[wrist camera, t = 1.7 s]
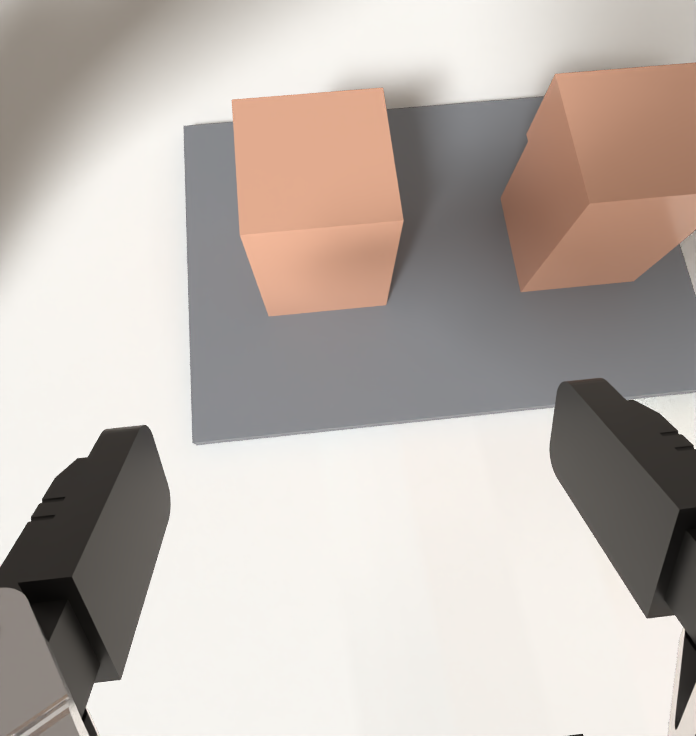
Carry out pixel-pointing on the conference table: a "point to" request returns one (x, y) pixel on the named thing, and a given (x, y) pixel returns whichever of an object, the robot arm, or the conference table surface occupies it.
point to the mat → (418, 302)
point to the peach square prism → (317, 199)
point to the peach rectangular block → (604, 177)
